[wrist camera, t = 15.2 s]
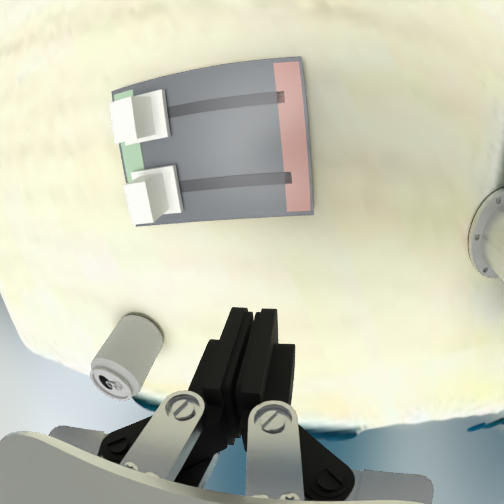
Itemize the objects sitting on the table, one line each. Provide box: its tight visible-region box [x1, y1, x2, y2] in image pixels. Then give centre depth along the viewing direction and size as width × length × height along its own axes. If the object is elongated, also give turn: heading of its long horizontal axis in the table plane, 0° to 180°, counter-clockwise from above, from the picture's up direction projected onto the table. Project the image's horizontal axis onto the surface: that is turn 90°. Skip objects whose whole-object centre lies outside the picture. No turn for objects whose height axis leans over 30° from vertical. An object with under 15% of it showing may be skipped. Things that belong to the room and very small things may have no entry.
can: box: [90, 315, 163, 401], centre depth 39 cm, size 8×8×12 cm
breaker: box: [123, 164, 183, 225], centre depth 29 cm, size 5×5×5 cm
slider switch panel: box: [112, 57, 314, 227], centre depth 30 cm, size 20×16×2 cm
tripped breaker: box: [109, 89, 171, 146], centre depth 26 cm, size 5×5×5 cm
